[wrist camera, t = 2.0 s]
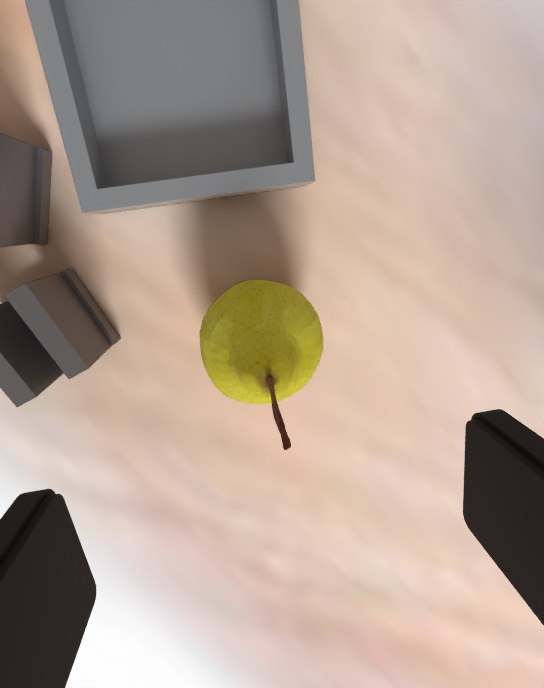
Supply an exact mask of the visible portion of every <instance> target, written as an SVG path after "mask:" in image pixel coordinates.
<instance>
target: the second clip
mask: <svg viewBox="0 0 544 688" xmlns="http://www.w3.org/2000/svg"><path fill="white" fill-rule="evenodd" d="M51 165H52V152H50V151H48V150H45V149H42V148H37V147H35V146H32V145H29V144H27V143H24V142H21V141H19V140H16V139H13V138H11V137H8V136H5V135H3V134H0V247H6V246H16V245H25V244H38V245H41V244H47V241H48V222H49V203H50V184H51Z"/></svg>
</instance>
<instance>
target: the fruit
mask: <svg viewBox="0 0 544 688" xmlns="http://www.w3.org/2000/svg"><path fill="white" fill-rule="evenodd" d="M200 347H201V356H202V360H203V363H204V366H205V368H206V371H207V373H208V375H209V377H210V379H211V381H212V382H213V384H214V385H215V387H216V388H218V389H219V390H220V391H221V392H222V393H223V394H224V395H226V396H227V397H229V398H232V399H234V400H236V401H240V402H246V403H253V404H271V403H272V409H273V415H274V419H275V421H276V424H277V427H278V429H279V431H280V434H281V438H282V443H283V448H284V450H287V449H289V448H290V447H291V443H290V439H289V437H288V435H287V432H286V430H285V425H284V422H283V419H282V417H281V414H280V411H279V408H278V404H277V402H278V401H281V400H283V399H285V398H287V397H289V396H291V395H292V394H294V393H296V392H297V391H299V390H300V389H301V388H302V387H303V386H305V385H306V383H307V382H308V381H309V380H310V379H311V377H312V375H313V373H314V372H315V370H316V368H317V366H318V364H319V361H320V358H321V355H322V351H323V334H322V328H321V324H320V321H319V317H318V315H317V313H316V311H315V310H314V308H313V306H312V305H311V304H310V302H309V301H308V300H307V299H306V298H305V297H304V296H303V294H302V293H300V292H299V291H297V290H295V289H294V288H292V287H290V286H288V285H284V284H281V283H278V282H273V281H267V280H254V279H250V280H247V281H243V282H240V283H238V284H236V285H234V286H233V287H231V288H229V289H228V290H227V291H225V292H224V293H223V294H222V295H221V296H220V297H219V298H218V299H217V300H216V301H215V302H214V303H213V304H212V305H211V306H210V308H209V310H208V311H207V313H206V315H205V316H204V318H203V321H202V325H201V330H200Z"/></svg>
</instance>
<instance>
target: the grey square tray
mask: <svg viewBox="0 0 544 688" xmlns="http://www.w3.org/2000/svg"><path fill="white" fill-rule="evenodd" d="M25 2H26V6H27V10H28V14H29V17H30V21H31V25H32V28H33V32H34V36H35V39H36V43H37V47H38V50H39V54H40V58H41V62H42V65H43V69H44V73H45V76H46V80H47V84H48V87H49V91H50V95H51V98H52V102H53V106H54V110H55V113H56V117H57V121H58V124H59V128H60V132H61V135H62V139H63V143H64V146H65V150H66V154H67V158H68V161H69V165H70V169H71V172H72V176H73V180H74V183H75V187H76V191H77V194H78V198H79V202H80V206H81V209H82V213H93V214H106V213H113V212H120V211H127V210H135V209H142V208H149V207H156V206H164V205H171V204H178V203H185V202H193V201H200V200H207V199H214V198H221V197H229V196H236V195H243V194H250V193H258V192H265V191H272V190H279V189H287V188H294V187H301V186H306V185H308V184H310V183H312V182H314V181H315V174H314V163H313V153H312V142H311V131H310V120H309V109H308V98H307V88H306V77H305V66H304V55H303V44H302V33H301V23H300V12H299V1H298V0H25Z"/></svg>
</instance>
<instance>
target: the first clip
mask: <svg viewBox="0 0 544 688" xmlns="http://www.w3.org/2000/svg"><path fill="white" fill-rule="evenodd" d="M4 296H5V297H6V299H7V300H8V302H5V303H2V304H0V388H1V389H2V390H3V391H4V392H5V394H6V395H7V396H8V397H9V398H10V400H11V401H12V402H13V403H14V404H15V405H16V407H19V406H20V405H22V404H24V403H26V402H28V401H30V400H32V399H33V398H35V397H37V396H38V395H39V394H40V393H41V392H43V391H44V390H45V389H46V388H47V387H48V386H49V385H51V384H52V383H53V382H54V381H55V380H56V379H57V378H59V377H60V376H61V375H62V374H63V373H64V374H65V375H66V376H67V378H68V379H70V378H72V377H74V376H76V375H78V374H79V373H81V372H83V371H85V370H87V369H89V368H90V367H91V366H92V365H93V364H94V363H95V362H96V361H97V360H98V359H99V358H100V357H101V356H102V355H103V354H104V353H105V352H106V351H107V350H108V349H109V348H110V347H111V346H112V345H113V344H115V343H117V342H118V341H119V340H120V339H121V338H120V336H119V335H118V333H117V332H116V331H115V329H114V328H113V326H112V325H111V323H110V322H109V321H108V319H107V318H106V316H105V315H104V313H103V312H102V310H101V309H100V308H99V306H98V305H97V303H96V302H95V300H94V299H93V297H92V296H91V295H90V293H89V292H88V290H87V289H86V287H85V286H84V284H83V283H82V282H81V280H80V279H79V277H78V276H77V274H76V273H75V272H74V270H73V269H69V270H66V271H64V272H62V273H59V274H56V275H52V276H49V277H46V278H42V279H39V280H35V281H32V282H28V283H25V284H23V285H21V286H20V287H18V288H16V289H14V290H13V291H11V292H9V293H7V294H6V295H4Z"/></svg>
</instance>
